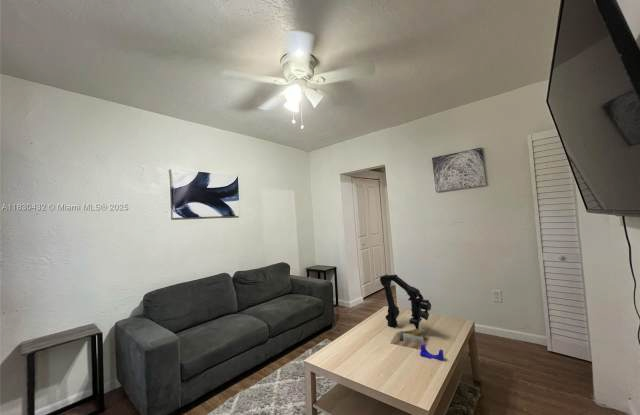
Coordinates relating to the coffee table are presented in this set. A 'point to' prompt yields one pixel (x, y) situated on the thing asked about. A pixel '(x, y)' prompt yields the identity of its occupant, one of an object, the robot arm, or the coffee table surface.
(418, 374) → the coffee table surface
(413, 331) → the block
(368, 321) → the coffee table surface
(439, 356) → the cable clip
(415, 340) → the steel leaf
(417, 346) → the hinge board
